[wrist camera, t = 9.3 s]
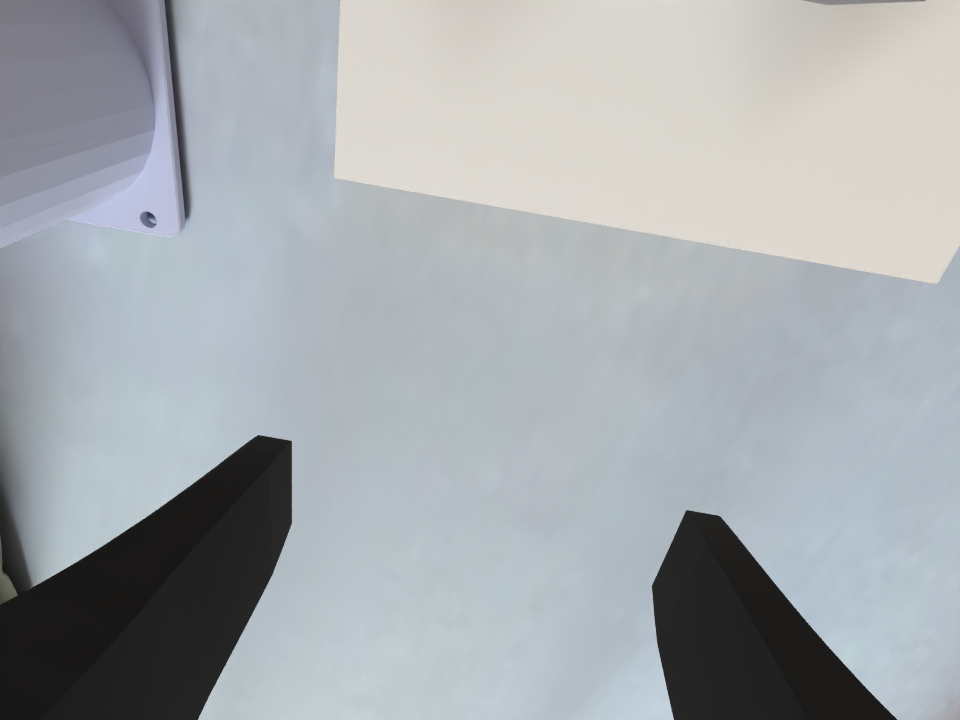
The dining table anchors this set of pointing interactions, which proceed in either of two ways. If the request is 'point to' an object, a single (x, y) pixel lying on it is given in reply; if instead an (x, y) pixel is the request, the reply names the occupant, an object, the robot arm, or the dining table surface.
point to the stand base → (672, 118)
